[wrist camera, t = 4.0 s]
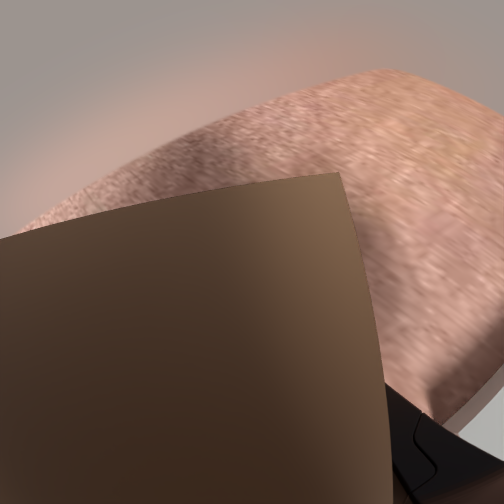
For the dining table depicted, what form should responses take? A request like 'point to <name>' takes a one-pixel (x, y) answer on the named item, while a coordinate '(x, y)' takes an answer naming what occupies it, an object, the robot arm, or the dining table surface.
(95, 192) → the dining table surface
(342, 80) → the dining table surface
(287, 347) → the walnut block
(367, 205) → the dining table surface
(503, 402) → the grey block
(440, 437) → the robot arm
